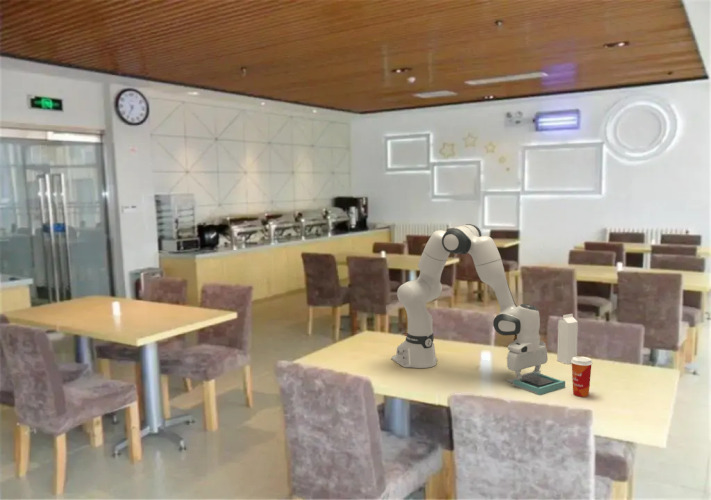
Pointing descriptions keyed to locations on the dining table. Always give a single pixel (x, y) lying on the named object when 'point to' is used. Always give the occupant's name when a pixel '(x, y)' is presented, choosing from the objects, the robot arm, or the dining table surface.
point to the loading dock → (539, 390)
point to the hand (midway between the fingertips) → (527, 377)
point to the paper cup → (581, 375)
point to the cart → (535, 379)
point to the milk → (567, 339)
